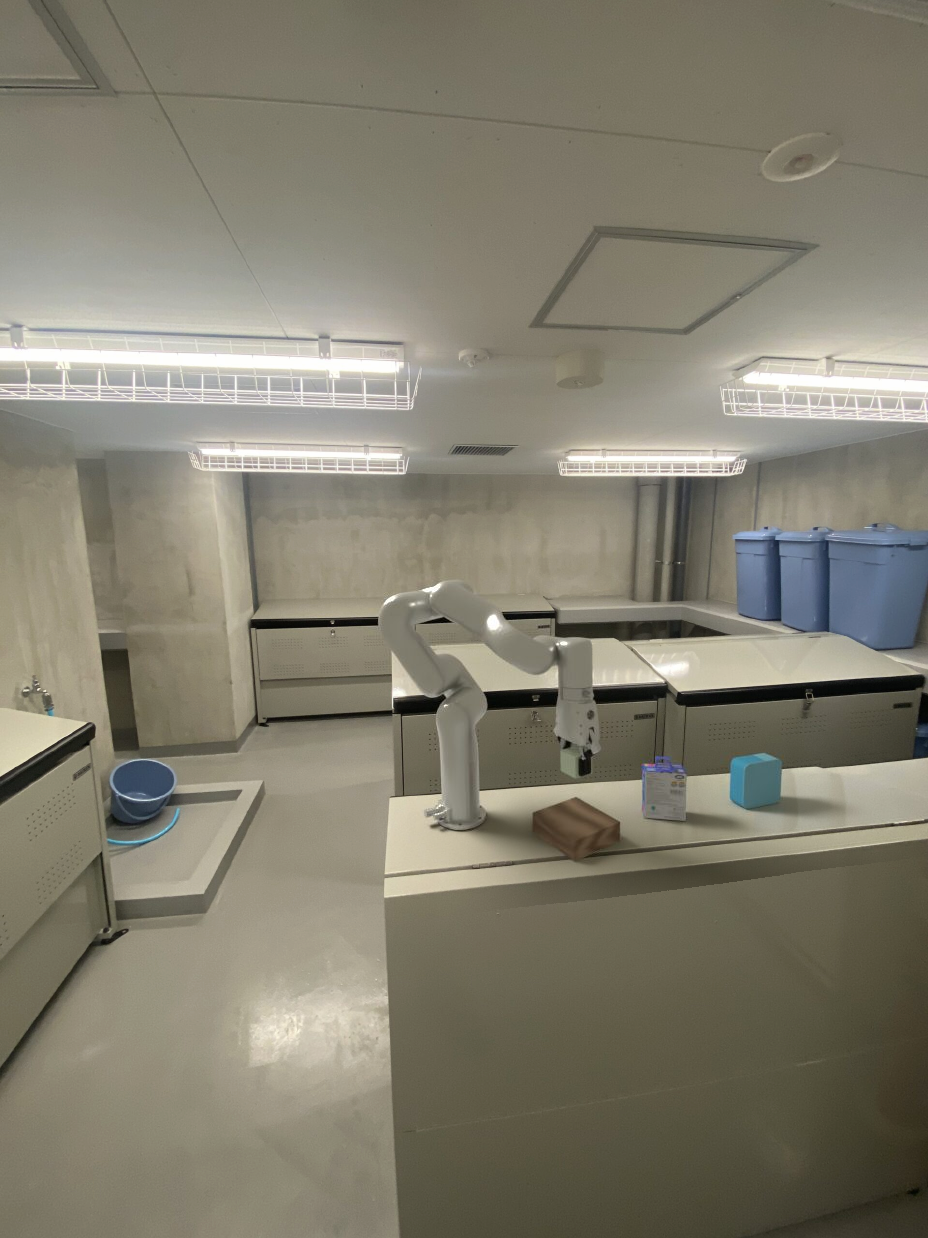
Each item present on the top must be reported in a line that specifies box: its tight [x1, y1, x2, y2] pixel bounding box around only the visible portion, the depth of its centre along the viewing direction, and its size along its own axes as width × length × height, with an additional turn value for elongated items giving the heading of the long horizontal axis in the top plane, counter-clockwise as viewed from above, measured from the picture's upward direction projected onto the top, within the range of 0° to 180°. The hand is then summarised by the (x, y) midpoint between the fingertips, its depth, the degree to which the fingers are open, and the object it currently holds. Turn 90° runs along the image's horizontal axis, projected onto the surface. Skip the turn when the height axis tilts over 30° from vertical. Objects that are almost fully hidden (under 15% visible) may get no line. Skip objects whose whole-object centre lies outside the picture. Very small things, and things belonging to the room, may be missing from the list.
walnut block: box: [532, 796, 621, 863], centre depth 110 cm, size 14×14×5 cm
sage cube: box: [560, 745, 593, 780], centre depth 108 cm, size 5×5×5 cm
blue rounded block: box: [729, 752, 783, 810], centre depth 122 cm, size 12×4×12 cm, turn 105°
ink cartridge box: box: [641, 755, 688, 822], centre depth 118 cm, size 10×6×14 cm, turn 78°
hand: (576, 769), depth 108 cm, fingers closed on sage cube, 5 cm apart
